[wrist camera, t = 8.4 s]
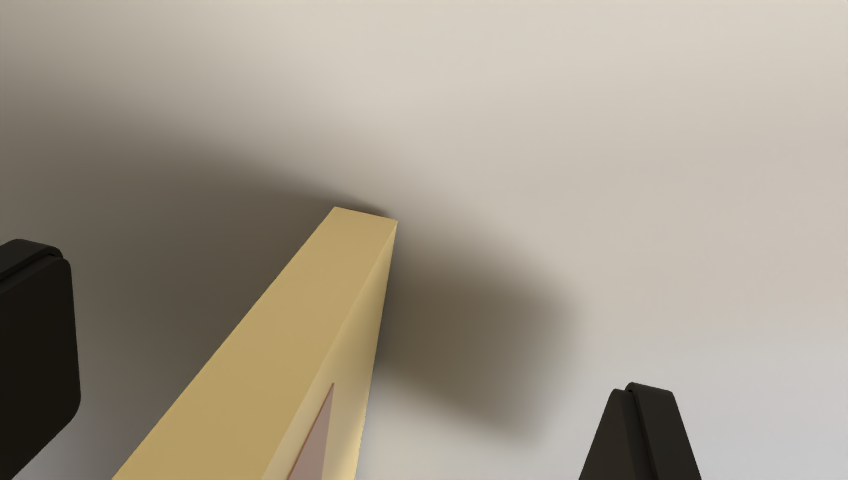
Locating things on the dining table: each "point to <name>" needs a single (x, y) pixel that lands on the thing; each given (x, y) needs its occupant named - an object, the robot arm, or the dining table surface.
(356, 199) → the dining table surface
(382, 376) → the dining table surface
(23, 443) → the robot arm
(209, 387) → the tall yellow upright plank
